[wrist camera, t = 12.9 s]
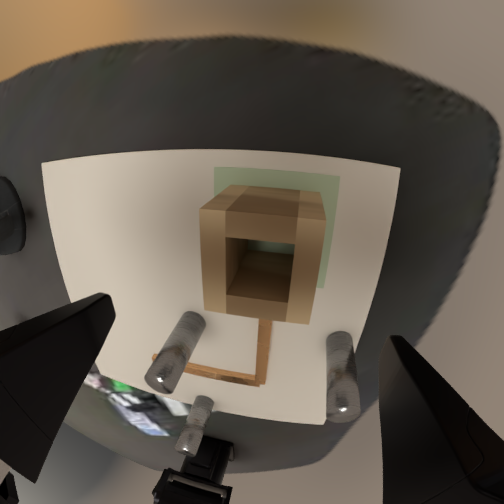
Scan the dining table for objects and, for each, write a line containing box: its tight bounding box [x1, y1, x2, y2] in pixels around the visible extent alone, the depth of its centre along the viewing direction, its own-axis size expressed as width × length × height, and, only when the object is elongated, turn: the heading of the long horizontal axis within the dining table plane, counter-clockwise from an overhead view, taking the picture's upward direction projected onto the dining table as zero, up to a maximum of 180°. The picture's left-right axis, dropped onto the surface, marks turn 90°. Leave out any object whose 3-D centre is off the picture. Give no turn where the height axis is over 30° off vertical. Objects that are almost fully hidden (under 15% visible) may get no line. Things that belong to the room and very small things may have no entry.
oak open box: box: [199, 185, 326, 325], centre depth 14 cm, size 5×5×5 cm
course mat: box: [42, 149, 401, 425], centre depth 21 cm, size 25×26×1 cm
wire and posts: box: [144, 311, 361, 457], centre depth 18 cm, size 10×18×6 cm, turn 133°
